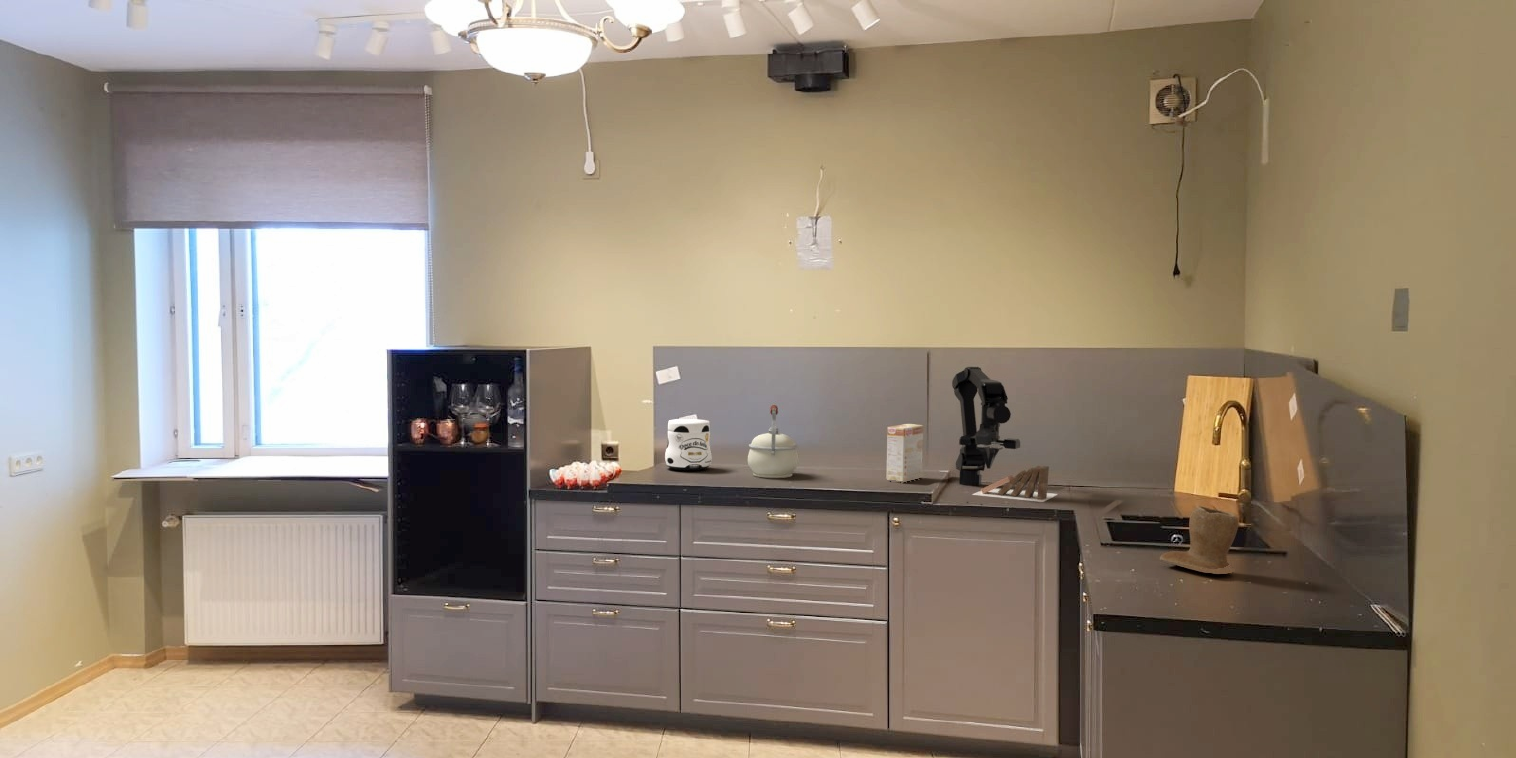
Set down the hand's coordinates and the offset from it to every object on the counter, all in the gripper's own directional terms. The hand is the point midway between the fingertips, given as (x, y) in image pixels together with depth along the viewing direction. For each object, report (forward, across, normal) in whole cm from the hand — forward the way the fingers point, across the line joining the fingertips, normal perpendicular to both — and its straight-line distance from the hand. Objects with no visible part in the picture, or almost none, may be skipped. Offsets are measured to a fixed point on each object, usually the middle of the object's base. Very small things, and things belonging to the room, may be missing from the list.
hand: (988, 468), depth 346 cm
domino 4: (+8, +13, 0) cm, 15 cm away
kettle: (+9, -80, 0) cm, 81 cm away
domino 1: (+7, -1, 0) cm, 7 cm away
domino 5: (+8, +18, 0) cm, 19 cm away
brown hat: (+10, +74, -72) cm, 104 cm away
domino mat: (+9, +8, +3) cm, 13 cm away
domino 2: (+8, +4, 0) cm, 9 cm away
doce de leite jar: (+9, -112, -8) cm, 113 cm away
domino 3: (+8, +9, 0) cm, 12 cm away
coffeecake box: (+9, -36, +17) cm, 41 cm away
